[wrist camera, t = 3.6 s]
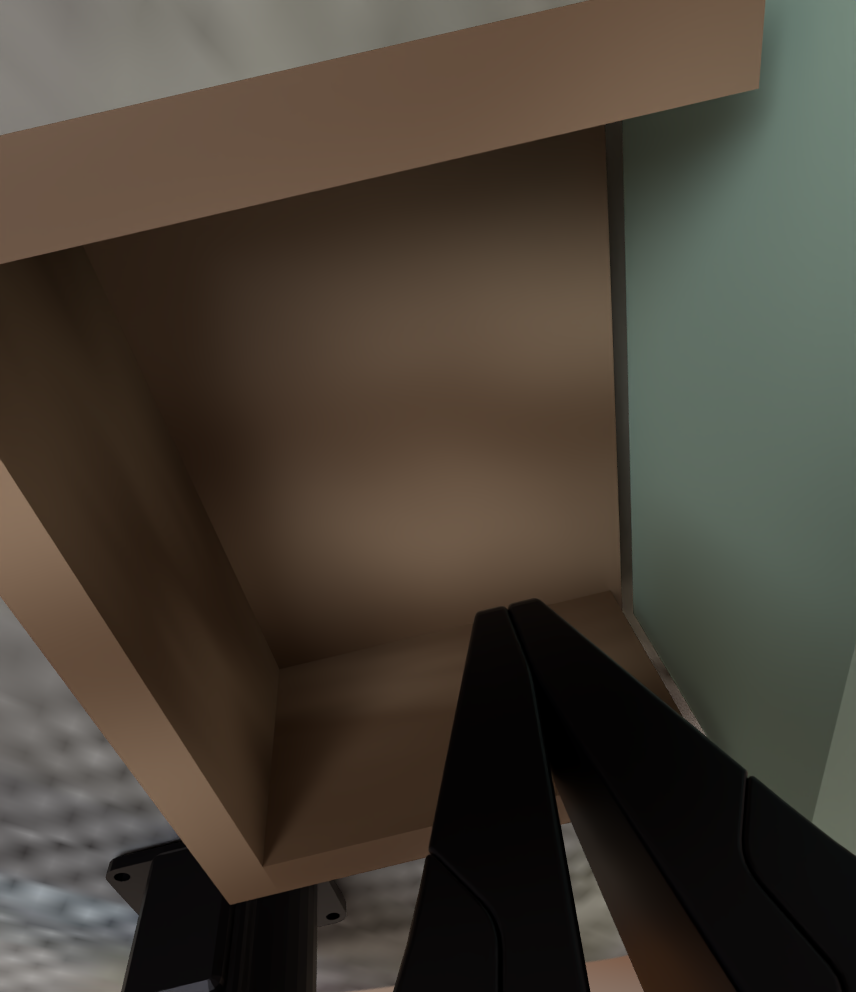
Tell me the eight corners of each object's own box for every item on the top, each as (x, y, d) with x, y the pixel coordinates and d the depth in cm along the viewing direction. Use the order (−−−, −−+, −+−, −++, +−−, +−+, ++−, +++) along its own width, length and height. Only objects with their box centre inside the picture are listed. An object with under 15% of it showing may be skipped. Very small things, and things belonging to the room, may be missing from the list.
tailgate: (670, 604, 17) (852, 872, 11) (633, 613, 17) (796, 886, 11) (681, -5, 10) (1191, -152, 4) (619, 9, 10) (1041, -118, 4)
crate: (608, 591, 18) (719, 785, 13) (257, 674, 18) (229, 904, 13) (580, 20, 11) (801, -49, 6) (-1, 153, 11) (-293, 201, 6)
